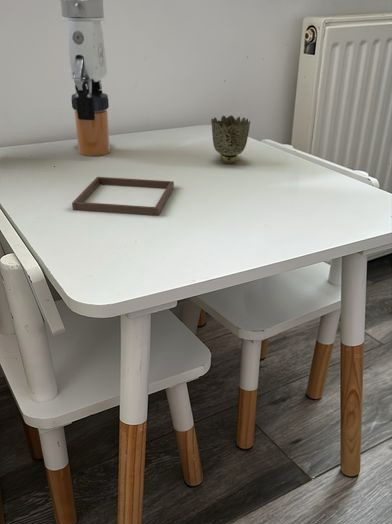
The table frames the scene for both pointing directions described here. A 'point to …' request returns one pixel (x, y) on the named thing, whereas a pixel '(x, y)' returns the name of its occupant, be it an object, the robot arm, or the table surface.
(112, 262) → the table surface
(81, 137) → the jar
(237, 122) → the cup
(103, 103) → the lid
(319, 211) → the table surface
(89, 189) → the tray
